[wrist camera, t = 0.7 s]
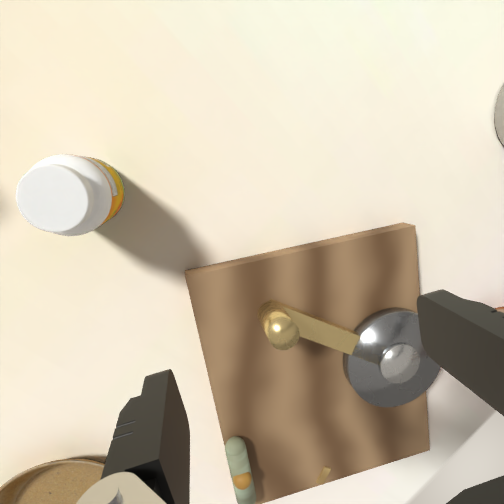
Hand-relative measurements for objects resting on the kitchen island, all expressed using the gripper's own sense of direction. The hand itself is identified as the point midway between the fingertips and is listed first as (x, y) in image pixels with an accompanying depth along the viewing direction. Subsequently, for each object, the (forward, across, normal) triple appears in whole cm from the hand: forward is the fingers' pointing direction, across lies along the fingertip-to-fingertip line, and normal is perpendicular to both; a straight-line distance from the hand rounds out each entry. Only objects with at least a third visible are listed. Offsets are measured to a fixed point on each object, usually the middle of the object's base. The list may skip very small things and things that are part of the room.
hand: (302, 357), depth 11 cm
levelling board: (+23, -6, +16) cm, 29 cm away
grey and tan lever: (+21, -9, +13) cm, 26 cm away
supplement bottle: (+23, +10, -6) cm, 26 cm away
